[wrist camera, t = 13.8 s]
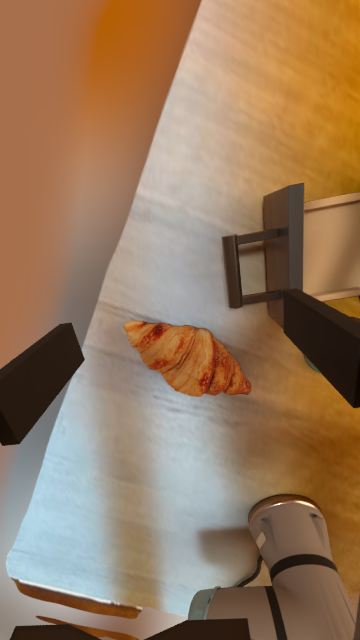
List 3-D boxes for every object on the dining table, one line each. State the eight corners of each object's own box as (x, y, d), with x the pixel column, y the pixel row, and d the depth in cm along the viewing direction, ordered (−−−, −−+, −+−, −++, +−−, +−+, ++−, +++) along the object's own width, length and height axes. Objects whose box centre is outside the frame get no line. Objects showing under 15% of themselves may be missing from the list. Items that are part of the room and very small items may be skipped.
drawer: (226, 320, 33) (236, 344, 26) (213, 206, 28) (222, 198, 21) (409, 293, 31) (470, 310, 24) (431, 163, 26) (518, 140, 19)
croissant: (125, 327, 39) (102, 367, 34) (142, 287, 32) (116, 330, 26) (234, 381, 42) (229, 425, 36) (273, 355, 34) (273, 406, 29)
